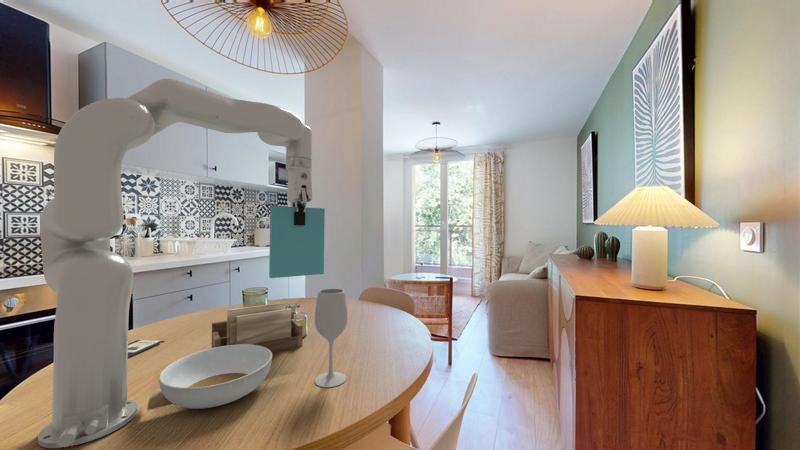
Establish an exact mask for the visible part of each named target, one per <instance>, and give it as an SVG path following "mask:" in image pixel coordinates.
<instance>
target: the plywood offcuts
mask: <svg viewBox="0 0 800 450" xmlns="http://www.w3.org/2000/svg"><path fill="white" fill-rule="evenodd" d="M291 311H292V308H287V303H286V302H285V301H283V302H276V303H269V304H261V305H252V306H245V307H237V308H229V309H227V310H226V321H227V345H239V344H249V345H252V344H257V343H262V342H268V341H273V340H278V339H283V338H288V337H291Z"/></svg>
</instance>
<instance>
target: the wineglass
mask: <svg viewBox="0 0 800 450" xmlns="http://www.w3.org/2000/svg"><path fill="white" fill-rule="evenodd" d="M347 325H348V306H347V299H346V294H345V289H341V288H325V289H324V288H323V289H321V290H318V294H317V298H316V302H315V310H314V326H315V329H316V331H317V332H318V333H319V335H320V336H322V338H324V339H325V340H327V342H328V345H329V349H328V350H329V353H328V354H329V355H328V357H329V361H328V365H329V366H328V367H329V368H328V369H329V370H328V372H324V373H322V374H319V375H317V376H316V378H315V379H314V384H315V385H316V386H317V387H320V388H324V389H325V388H326V389H327V388H328V389H330V388H336V387H339V386H341V385H343V384H344V383H345V382H346V379H347V376H346V374H344V373H342V372H339V371H333V344H334V341H335V340H336V339H337V338H338V337H340V335H341V334H342V333H343V332H344V330H345V329H346V327H347Z"/></svg>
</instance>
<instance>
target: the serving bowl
mask: <svg viewBox="0 0 800 450" xmlns="http://www.w3.org/2000/svg"><path fill="white" fill-rule="evenodd" d="M272 359H273V353H272V352H271V351H270V350H269V349H267V348H265V347H263V346H258V345H249V344H239V345H227V346H221V347H215V348H212V347H211V348H207V349H203V350H199V351H196V352H193V353H191V354H189V355H188V354H187V355H186V356H183V357H181V358H179V359H177V360H175V361H173V362H171V363H170V364H169V365H167V366H166V367H164V368H163V370H162V371H161V372H160V374H159V375H158V383H159V389H160V391H161V393H162V395H163V396H164V397H165V398H166V399H167V400H168V401H169V402H170V403H172V404H173V405H175V406H178V407H180V408H186V409H197V410H198V409H208V408H215V407H219V406H223V405H226V404H229V403H232V402H235V401H237V400H239V399H241V398H243V397H244V396H247V395H249V394H250V393H251V392H253V391H254V390H255V389H257V388H258V387H259V386H260V385H261V384H262V383H263V381H264V380H265V379H266V377H267V376H268V374H269V372H270V369H271V367H272V361H273V360H272ZM225 374H243V375H244V376H241V377H239V378H235V379H232V380H228V381H226V382H221V383H217V384H213V385H212V384H211V385H205V386H196V387H195V386H193V387H191V386H192V385H194V384H196V383H198V382H201V381H203V380H205V379H208V378H212V377H216V376H220V375H225Z"/></svg>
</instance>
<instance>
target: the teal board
mask: <svg viewBox="0 0 800 450" xmlns="http://www.w3.org/2000/svg"><path fill="white" fill-rule="evenodd" d="M269 207H270V208H269V209H270V210H269V216H270V217H269V264H268V265H269V268H268V269H269V272H268V273H269V274H268V276H269V279H276V278H289V277H302V276H315V275H324V274H325V264H324V263H325V218H326V216H325V213H326V211H325V209H326V208H325V207H324V208H323V207H307V206H306V210H305V225H294V212H296V211H295V207H291V206H284V205H270V206H269Z"/></svg>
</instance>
